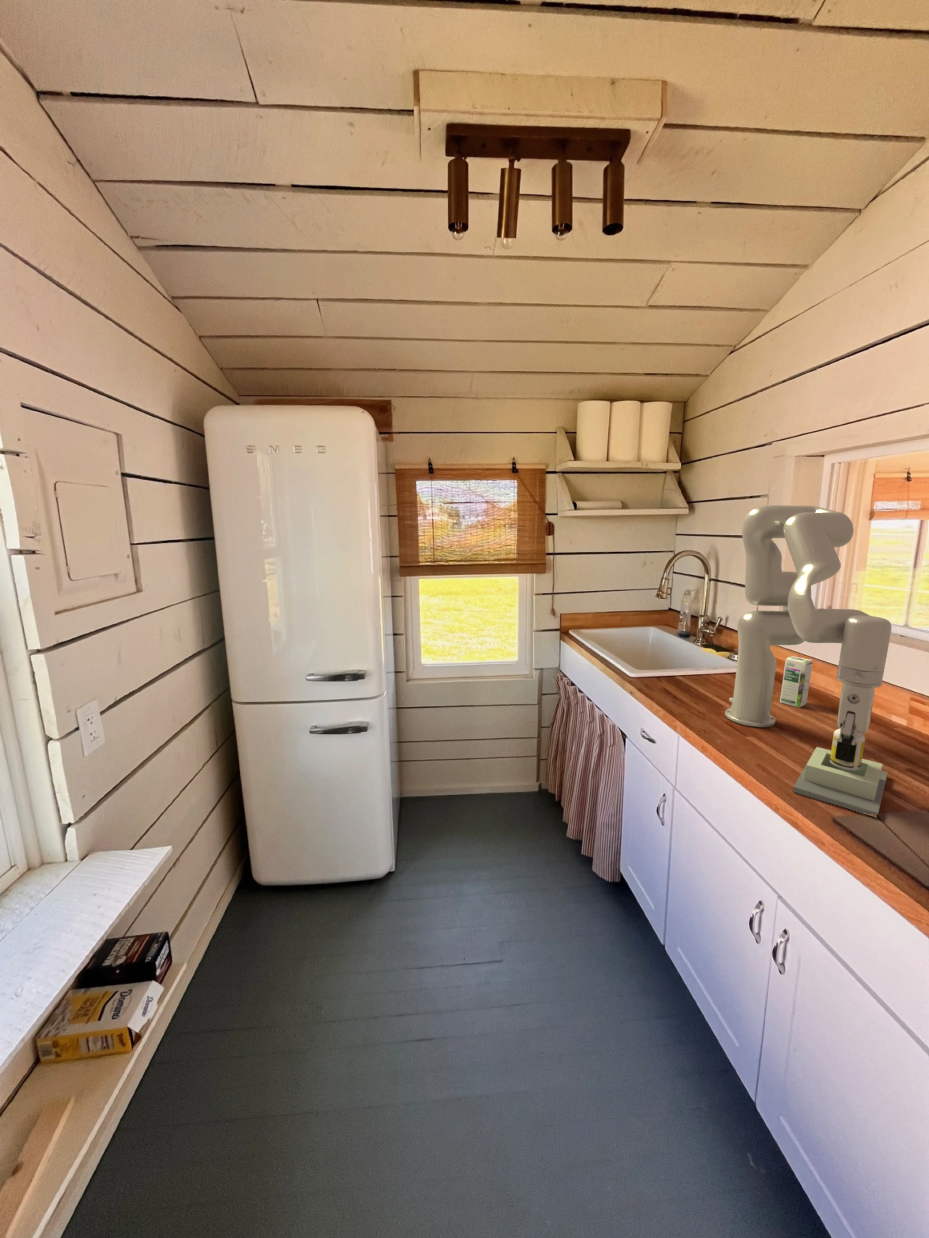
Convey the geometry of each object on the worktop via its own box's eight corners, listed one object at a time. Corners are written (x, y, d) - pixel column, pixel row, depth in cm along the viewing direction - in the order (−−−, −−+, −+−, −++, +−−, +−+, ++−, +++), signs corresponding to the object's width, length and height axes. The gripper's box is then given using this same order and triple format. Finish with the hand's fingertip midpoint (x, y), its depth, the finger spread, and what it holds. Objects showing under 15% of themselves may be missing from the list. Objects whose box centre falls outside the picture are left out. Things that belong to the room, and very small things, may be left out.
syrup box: (778, 702, 159) (785, 658, 156) (787, 698, 162) (793, 655, 159) (799, 708, 154) (806, 662, 151) (807, 704, 158) (813, 659, 155)
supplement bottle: (847, 759, 112) (854, 717, 110) (866, 771, 107) (874, 728, 105) (823, 759, 112) (829, 718, 110) (841, 771, 107) (849, 728, 105)
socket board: (877, 818, 98) (881, 796, 97) (792, 791, 107) (795, 771, 106) (886, 776, 114) (890, 757, 113) (812, 756, 123) (815, 738, 122)
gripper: (878, 689, 97) (863, 776, 100) (886, 670, 109) (872, 748, 113) (830, 680, 102) (818, 763, 106) (843, 663, 114) (831, 738, 118)
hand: (846, 754), depth 109 cm, fingers closed on supplement bottle, 5 cm apart
